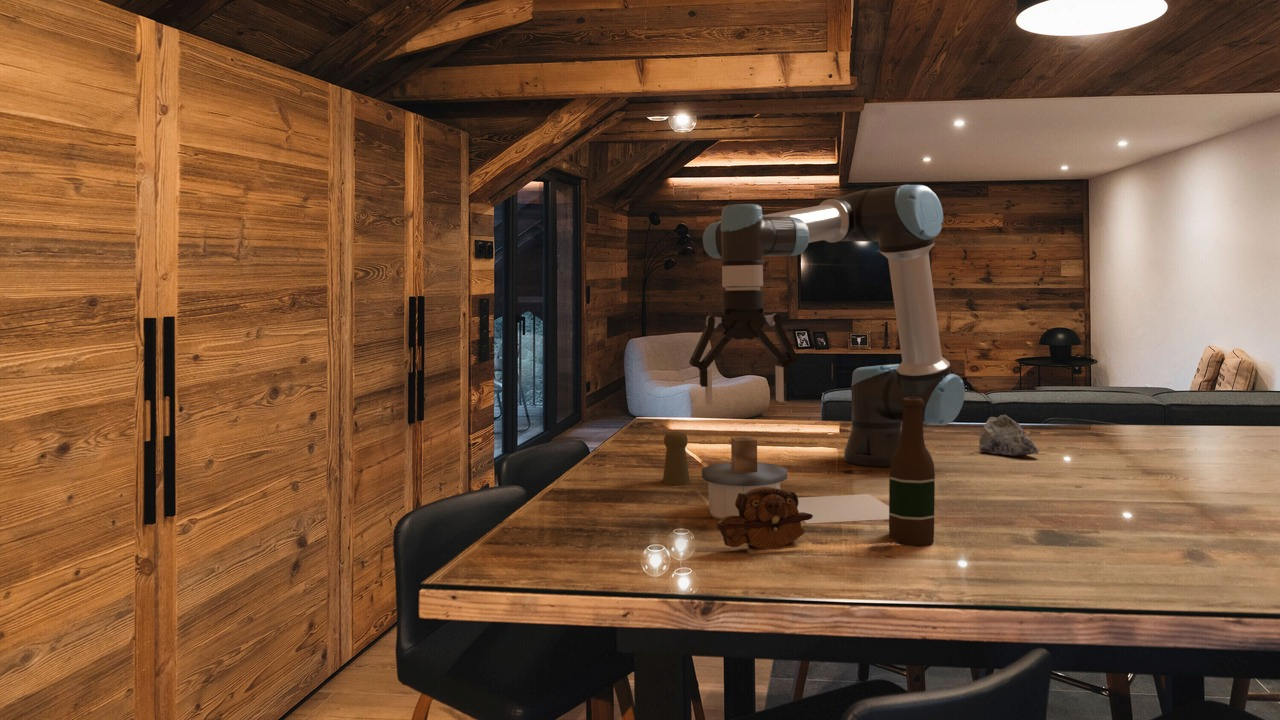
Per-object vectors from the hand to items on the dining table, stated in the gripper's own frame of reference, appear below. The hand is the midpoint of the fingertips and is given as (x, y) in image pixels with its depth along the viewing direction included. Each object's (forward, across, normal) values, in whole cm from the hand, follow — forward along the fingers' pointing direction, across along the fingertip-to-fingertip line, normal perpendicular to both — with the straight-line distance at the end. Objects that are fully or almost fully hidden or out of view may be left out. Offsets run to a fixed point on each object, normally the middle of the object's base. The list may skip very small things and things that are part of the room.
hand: (744, 402), depth 173 cm
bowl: (+21, 0, 0) cm, 21 cm away
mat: (+21, -18, +2) cm, 28 cm away
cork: (+21, +8, -29) cm, 37 cm away
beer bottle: (+21, -22, +23) cm, 39 cm away
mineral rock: (+22, -76, -42) cm, 89 cm away
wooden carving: (+21, +2, +23) cm, 32 cm away
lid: (+14, 0, 0) cm, 14 cm away
